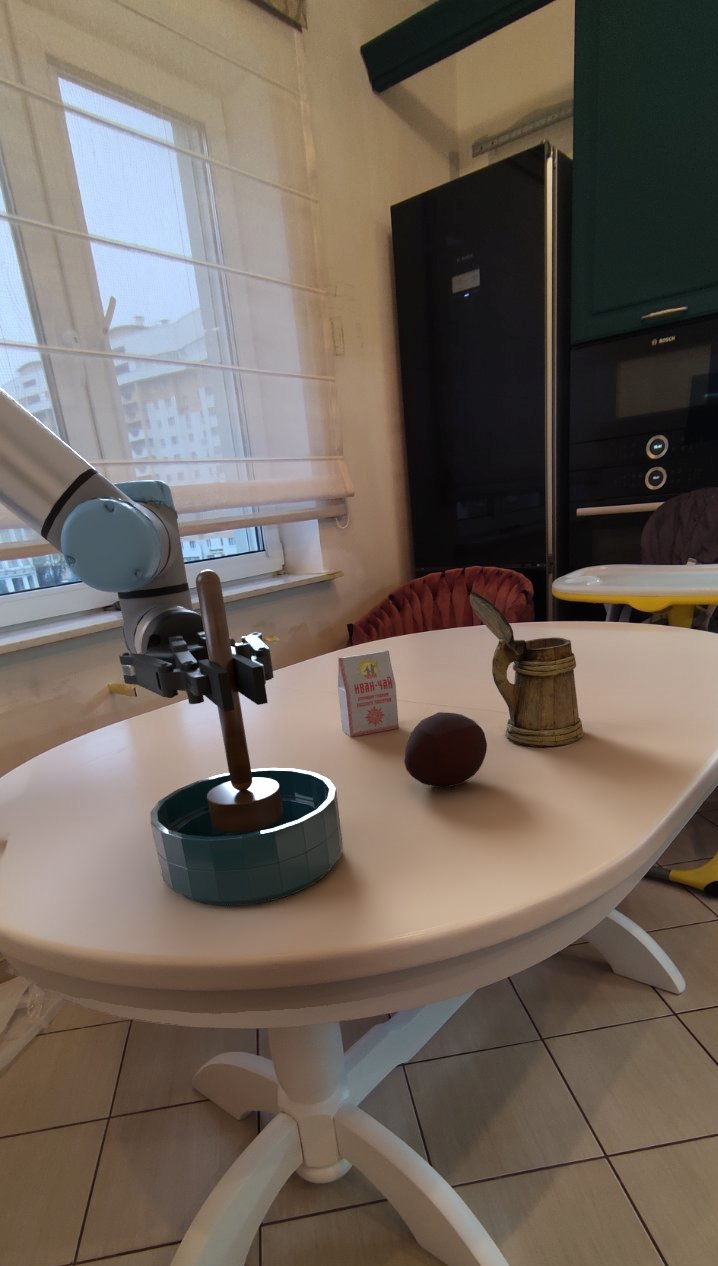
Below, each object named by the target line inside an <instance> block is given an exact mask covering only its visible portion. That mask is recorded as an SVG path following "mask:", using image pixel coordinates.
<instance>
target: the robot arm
mask: <svg viewBox="0 0 718 1266" xmlns="http://www.w3.org/2000/svg"><path fill="white" fill-rule="evenodd" d="M0 504H1V505H2V506H3V507H5V508H6V510H8V511H9V512H11V514H13V515H14V516H16V517H17V518H18V519H19V520H20V521H22V522H23V523H24V524H25V525H27V526H28V527H29V528H31V529H32V530H33V531H34V532H36V533H37V534H38V535H39V536H41V537H42V538H43V539H44V540H45V541H47V542H48V543H49V544H50V545H51V546H52V547H53V548H55V549H56V550H57V551H58V552H59V553H61V554H62V555H63V557H64V561H65V562H66V564H67V567H69V569H70V570H71V572H72V574H73V575H74V576H75V577H76V578H77V579H78V580H80V581H81V582H82V583H83V584H84V585H86V586H88V587H90V588H91V589H94V590H97V591H100V592H104V593H105V592H106V593H113V594H114V593H117V597H118V602H119V606H120V612H121V615H122V623H123V624H122V628H121V631H122V636H123V639H124V646H125V648H126V649H127V651H129V652H123V653H121V654H119V655H118V658H119V662H120V668H121V672H122V676H123V681H124V684H127V685H136V686H139V687H142V688H144V689H145V690H147V691H150V692H152V693H154V694H156V695H158V696H160V697H162V698H167V699H172V698H174V697H177V696H179V692H185V693H186V695H187V701H188V704H189V705H197V704H202V703H204V702H205V698H204V697H206V698H207V699H208V700H209V701H210V702H212V704H214V705H215V706H218V707H219V708H220V709H222V710H223V711H224V712H225V711H230V710H234V704H233V698H232V692H231V686H230V680H229V674H228V672H227V671H226V670H224V669H222V668H221V667H219V666H218V665H216V664H214V663H213V662H211V661H209V656H208V650H207V644H206V639H205V633H204V627H203V622H202V616H201V613H198V612H196V611H194V608H193V603H192V596H191V592H190V586H189V582H188V578H187V571H186V567H185V560H184V559H185V558H184V553H183V548H182V541H181V536H180V529H179V524H178V519H179V517H178V516H179V515H178V512H177V510H176V508H175V503H174V499H173V493H172V490H171V488H170V486H169V485H168V484H167V482H165V481H164V480H160V479H155V480H152V479H148V480H131V481H124V482H115V483H114V482H113V483H112V482H111V481H110V480H109V479H108V478H107V477H105V476H104V475H103V474H102V473H100V472H99V471H97V469H95V467H93V466H92V465H91V464H90V463H89V462H87V461H86V460H85V459H84V458H83V457H82V456H81V455H80V454H78V453H77V452H76V451H75V450H73V449H72V448H71V447H70V446H69V445H68V444H67V443H65V442H64V441H63V440H62V439H61V438H60V437H58V436H57V435H56V434H55V433H54V432H53V431H51V430H50V428H48V427H47V426H46V425H44V424H43V423H42V422H41V421H40V420H39V419H38V418H36V417H35V416H34V415H33V414H31V413H30V412H29V411H28V410H27V409H26V408H25V407H24V406H22V405H21V404H20V403H19V402H18V401H17V400H15V399H14V398H13V397H12V396H11V395H10V394H8V393H7V392H6V391H5V390H4V389H3V388H1V387H0ZM262 633H263V632H258V631H253V632H252V633H249V634H248V635H247V636H246V635H245V636H241V639H240V640H241V642H236V640H235V638H233V637H231V636H229V637H230V643H231V649H232V655H233V662H234V668H235V674H236V680H237V686H238V692H239V694H241V696H244V697H245V698H247V699H248V700H250V701H251V702H253V703H254V704H255V705H257V706H261V705H264V704H265V705H266V704H268V694H267V689H266V684H267V681H270V680H272V679H274V678H275V677H274V671H273V670H274V669H273V661H272V655H271V649H270V647H269V646H268V645H267V644H266V643H265V642H264V640H263V639H264V638H263V634H262ZM218 707H217V708H218Z"/></svg>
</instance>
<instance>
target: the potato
mask: <svg viewBox="0 0 718 1266" xmlns="http://www.w3.org/2000/svg"><path fill="white" fill-rule="evenodd" d="M487 749H488V742H487V739H486V734H485V732H484V730H483V729H482V726H480V725H479V724H478V723H477V722H476V721H475V720H473V719H471V718H469V717H468V716H466V715H463V714H460V713H456V712H444V711H443V712H442V711H441V712H440V711H439V712H437V713H436V712H435V713H434V714H432V715H430V716H427V717H425V718H424V719H421V720H420V721H419V722H418V724H416V726H415V727H414V728H413V730H412V731H411V733H410V734H409V735H408V738H407V741H406V744H405V747H404V760H403V762H404V766H405V769H406V771H407V772H408V774H409V775H410V776H411V778H413V779H415V780H416V781H418V782H419V783H421V784H423V785H426V786H431V787H434V788H435V787H436V788H441V789H443V788H450V787H454V786H458V785H461V784H463V783H464V782H467V781H468V780H469V779H471V778H472V777H474V776H475V775H476V774H477V772H479V770H480V769H481V767H482V765H483V764H484V761H485V758H486V754H487V751H488V750H487Z"/></svg>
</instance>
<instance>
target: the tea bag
mask: <svg viewBox="0 0 718 1266" xmlns="http://www.w3.org/2000/svg"><path fill="white" fill-rule="evenodd" d="M337 662H338V665H337V667H338V668H337V670H338V672H337V690H338V691H337V693H338V702H339V711H340V712H339V713H340V720H341V721H340V723H341V730H342V731H343V733H345V734H347V736H348V737H350V738H352V737H358V736H362V735H363V736H364V735H369V734H374V733H380V732H385V731H391V730H396V729H400V725H399V724H400V723H399V713H398V712H399V711H398V698H397V697H398V696H397V684H396V680H395V676H394V670H393V666H392V662H391V656H390V651H389V650H382V651H376V652H370V653H363V654H355V655H349V656H344V657H338V658H337Z"/></svg>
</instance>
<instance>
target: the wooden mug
mask: <svg viewBox="0 0 718 1266" xmlns="http://www.w3.org/2000/svg"><path fill="white" fill-rule="evenodd" d="M469 604H470V606H471V608H472V609H473V611H474V613H475V614H476V616H477V617H478V619H480V621H481V622H482V623H483V624H484V625H485V626H486V628H487V629H488V630H489V631H490V632H491V633H492V634H493V635H494V636H495V637H496V638H497V640H498V643H497V645H496V647H495V649H494V653H493V657H492V662H491V673H492V678H493V682H494V684H495V686H496V688H497V690H498V692H499V694H500V695H501V697H502V699H503V700H504V702H505V704H506V706H507V708H508V713H509V719H508V720H507V721H506V729H505V737H507V738H508V739H509V741H512V742H513V743H514V744H517V745H521V746H528V747H537V748H538V747H539V748H542V747H544V748H545V747H558V746H565V745H569V744H571V743H574V742H576V741H578V740H579V739H581V738H582V737H583V736H584V728H583V723H582V720H581V718H580V714H579V706H578V698H577V689H576V679H575V669H576V667H577V661H576V656H575V654H574V652H573V650H572V641H571V639H567V638H564V637H558V636H557V637H553V636H552V637H542V638H533V639H530V640H525V639H515V636H514V630H513V627H512V625H511V624H510V623H509V621H508V619H507V618H506V617H505V615H504V614H503V613H502V612H501V610H500V609H499V608H498V607H496V605H495V604H493V603H492V602H491V601H490V600H489V599H487V598H486V597H485V596H482V595H481V594H479V593H477V592H475V591H473V590H471V591H470V595H469ZM512 663H513V664H512ZM511 664H512V670H513V671H514V680H513V681H514V682H513V683H512V682H510V681H509V679H508V669H509V667H510V665H511Z"/></svg>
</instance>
